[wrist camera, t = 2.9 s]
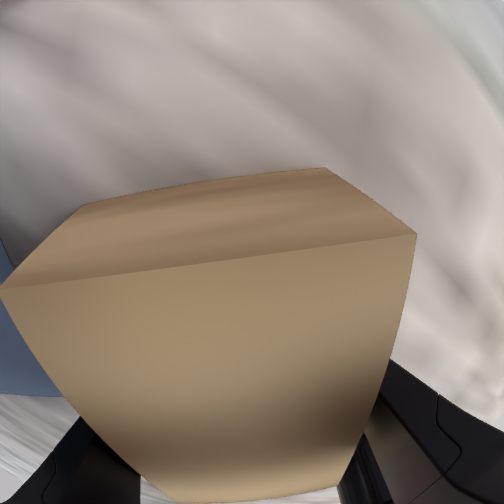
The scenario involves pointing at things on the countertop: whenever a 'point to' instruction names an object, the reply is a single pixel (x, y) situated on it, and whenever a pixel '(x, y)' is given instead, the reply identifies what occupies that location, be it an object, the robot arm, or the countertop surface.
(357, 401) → the oak brick
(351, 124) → the countertop surface
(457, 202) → the countertop surface
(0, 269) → the board
